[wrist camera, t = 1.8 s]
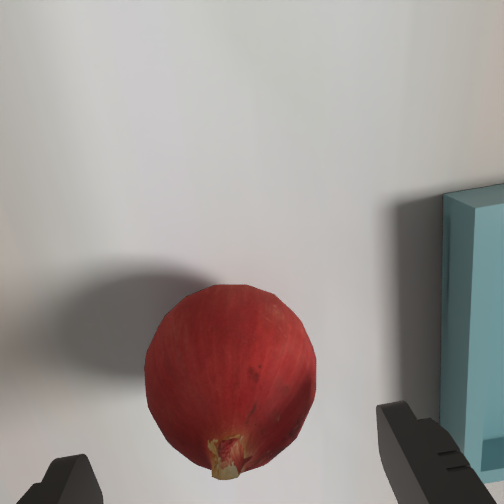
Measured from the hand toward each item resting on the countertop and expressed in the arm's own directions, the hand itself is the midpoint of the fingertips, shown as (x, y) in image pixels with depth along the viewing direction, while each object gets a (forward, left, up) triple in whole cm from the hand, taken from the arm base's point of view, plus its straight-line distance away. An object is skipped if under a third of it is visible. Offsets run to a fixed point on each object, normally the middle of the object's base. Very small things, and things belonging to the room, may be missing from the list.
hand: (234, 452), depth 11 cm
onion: (0, 0, -7) cm, 7 cm away
